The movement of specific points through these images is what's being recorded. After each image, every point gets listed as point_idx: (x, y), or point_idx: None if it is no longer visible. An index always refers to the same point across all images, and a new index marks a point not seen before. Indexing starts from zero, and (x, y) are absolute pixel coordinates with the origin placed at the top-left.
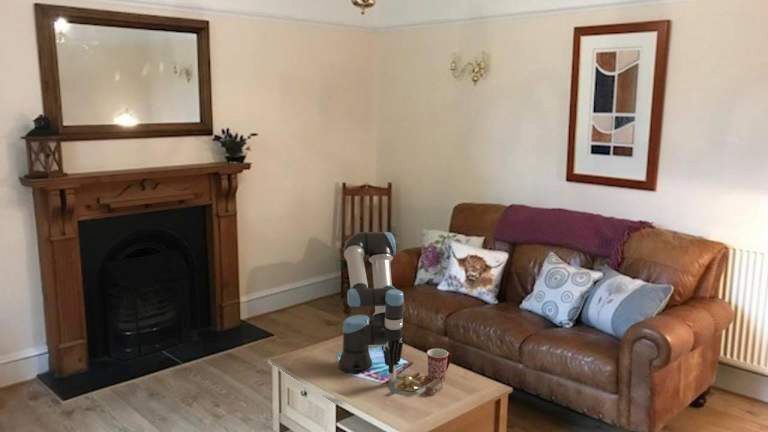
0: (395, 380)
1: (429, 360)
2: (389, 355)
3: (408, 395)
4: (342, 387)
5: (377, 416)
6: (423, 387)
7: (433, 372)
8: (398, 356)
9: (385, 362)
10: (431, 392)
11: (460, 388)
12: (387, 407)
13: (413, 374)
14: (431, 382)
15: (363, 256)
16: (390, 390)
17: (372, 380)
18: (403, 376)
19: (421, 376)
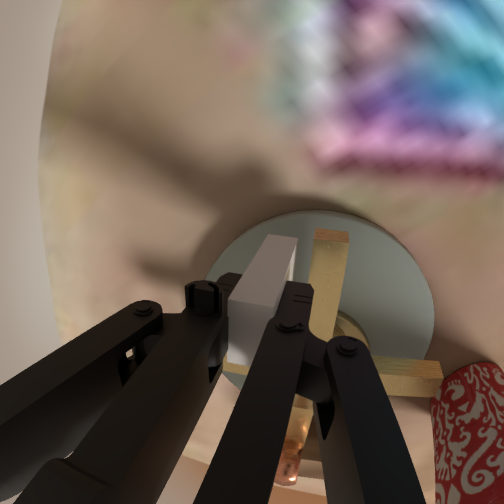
0: (352, 238)
1: (459, 493)
2: (56, 449)
3: (226, 375)
4: (110, 8)
5: (55, 304)
6: None
7: (436, 453)
8: (321, 438)
9: (108, 327)
10: None
11: (429, 463)
12: (111, 312)
13: (384, 386)
14: None
15: None
16: (206, 277)
17: (294, 64)
18: None
19: (286, 478)
